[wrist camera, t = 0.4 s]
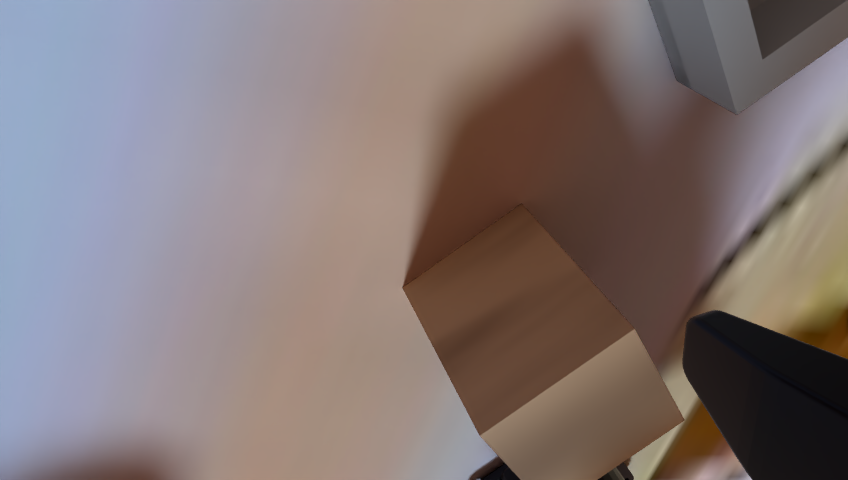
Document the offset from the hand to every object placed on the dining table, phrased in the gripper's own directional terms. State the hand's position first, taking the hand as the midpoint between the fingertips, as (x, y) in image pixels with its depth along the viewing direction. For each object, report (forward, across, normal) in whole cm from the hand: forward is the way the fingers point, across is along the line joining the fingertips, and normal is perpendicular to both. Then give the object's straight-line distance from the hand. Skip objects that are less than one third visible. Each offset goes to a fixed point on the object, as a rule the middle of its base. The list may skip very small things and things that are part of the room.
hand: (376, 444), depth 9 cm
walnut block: (+13, -6, +9) cm, 18 cm away
